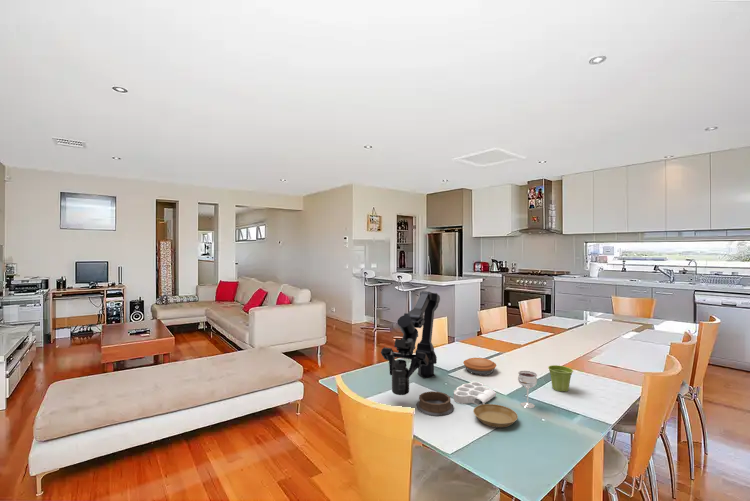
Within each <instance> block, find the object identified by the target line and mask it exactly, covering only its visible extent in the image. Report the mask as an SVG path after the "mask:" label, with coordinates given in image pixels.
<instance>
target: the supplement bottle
mask: <svg viewBox="0 0 750 501" xmlns="http://www.w3.org/2000/svg"><path fill="white" fill-rule="evenodd" d="M408 371H409V368H408V367H407V360H405V359H395V361H394V368H393V369H392V375H391V392H392V393H393V395H397V396H405V395H409V393H410V377H409V378H407V374H408Z"/></svg>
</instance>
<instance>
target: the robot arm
mask: <svg viewBox="0 0 750 501" xmlns="http://www.w3.org/2000/svg"><path fill="white" fill-rule="evenodd" d="M440 301H441V296H440V295H439V294H438V293H437V292H431V291H425V290H424V291H420V292H419V296H418V299H417V301H416V303H415V305H414V307H413V309H410V310H409V311H408V312H407V313H406V312H405V313H404V314H403V315H401V316H400V317H399V318H398V319H397V322H396V324H397V325H398V327H399V329H400V331H401V333H402V334H403V335H402V338H395V339H394V348H396V351H394V350H393V348H391V347H382V349H381V351H380V354H381V356H382V357H383V359H384V360H387V362H388V367H389V375H390V376H392V369H393V368H394V361H395V360H396V358H399V359H404V360H405V359H406V360H410V365H409V368H408V370H409V371H408V374H407V378H409V379H410V377H411V376H412V375H413V374H414V372H415V371H416V370H417V374H418V375H419V376H420V377H421V378H424V379H426V378H431V377H432V378H434V377H436V375H437V374H435V367H434V366H435V365H437V360H438V359H437V358H438V357H437V354H436V352H435V348H434V345H433V343H432V341H433V340H432V337H433V327H434V319H435V318H434V317H435V311H436V310H437V309H438V307H439V304H440ZM418 329H422V332H421V340H420V342H418V343H417V339H418V338H419V331H418ZM416 344H417V345H416ZM414 350H415V353H414Z"/></svg>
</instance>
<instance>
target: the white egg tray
mask: <svg viewBox="0 0 750 501" xmlns="http://www.w3.org/2000/svg"><path fill="white" fill-rule="evenodd" d="M496 395H497V392H496V391H495V390H493V389H492V388H490V387H486V386H484V383H482V382H479V381H470V382H469V383H463V384H461V385H460V386H457V387H456V388H455V389H454V390H453V401H454V402H455V403H457V404H461V405H464V404H465V405H467V404H473V405H477V406H479V405H483V404H487V402H489V401H491V399H493V398H494V397H496Z"/></svg>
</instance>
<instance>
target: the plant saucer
mask: <svg viewBox="0 0 750 501" xmlns="http://www.w3.org/2000/svg"><path fill="white" fill-rule="evenodd" d="M472 412H473V414H474V415H475V417H476V418H477V419H478V420H479V421H480V422H481V423H482V424H484V425H487V426H489V427H493V428H508V427H509V426H511V425H513V424H514V423H515V422H516V421H517V420H518V418H519V417H518V413H517V412H516V411H515V410H513V409H512V408H509V407H506V406H504V405H500V404H493V403H485V404H483V405H477V406H475V407H474V408H473V411H472Z"/></svg>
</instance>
